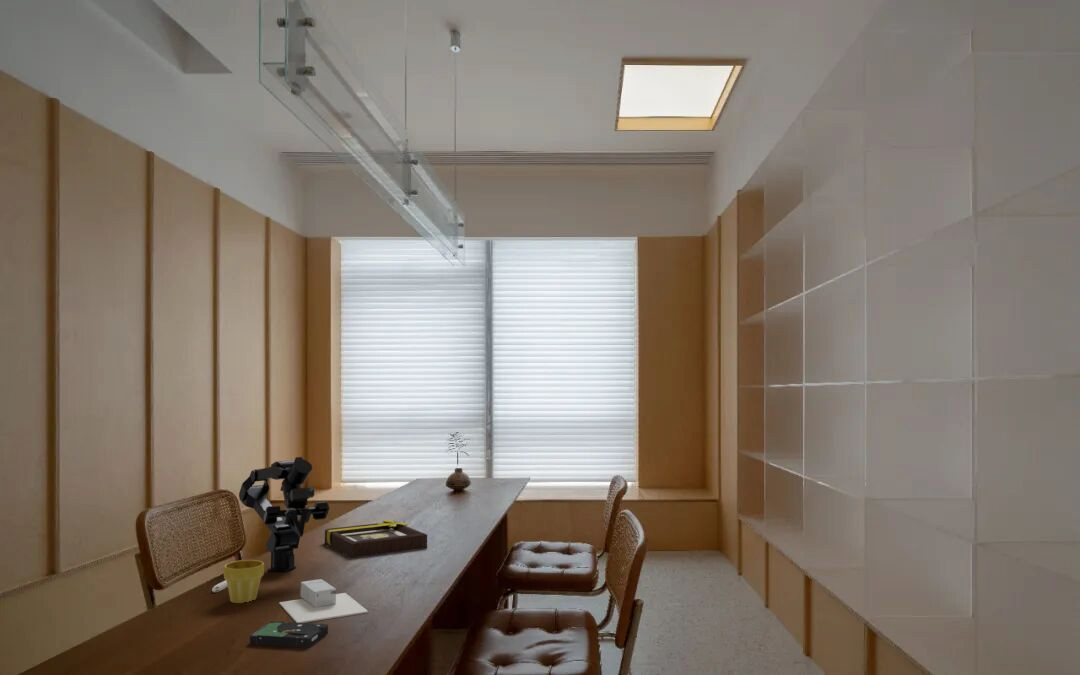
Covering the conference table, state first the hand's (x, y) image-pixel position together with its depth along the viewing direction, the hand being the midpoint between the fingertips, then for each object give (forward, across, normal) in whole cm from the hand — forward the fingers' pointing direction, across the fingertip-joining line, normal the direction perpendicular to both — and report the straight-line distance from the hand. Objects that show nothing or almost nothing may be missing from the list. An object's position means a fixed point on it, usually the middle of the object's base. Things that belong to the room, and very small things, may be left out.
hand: (301, 535), depth 232 cm
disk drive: (+46, -15, -25) cm, 54 cm away
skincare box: (+20, -1, -5) cm, 21 cm away
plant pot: (+18, -18, +2) cm, 25 cm away
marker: (+5, -19, +15) cm, 25 cm away
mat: (+31, -2, -12) cm, 33 cm away
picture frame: (-16, +36, +37) cm, 54 cm away
